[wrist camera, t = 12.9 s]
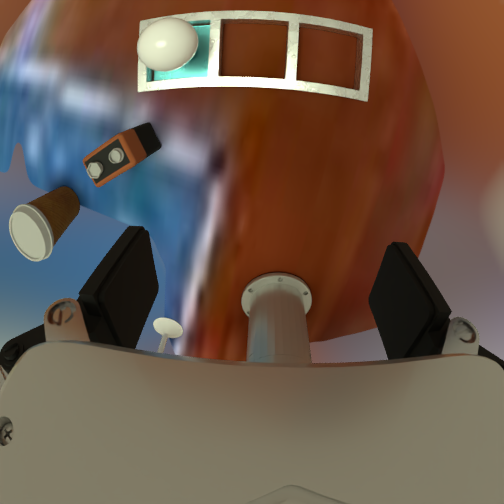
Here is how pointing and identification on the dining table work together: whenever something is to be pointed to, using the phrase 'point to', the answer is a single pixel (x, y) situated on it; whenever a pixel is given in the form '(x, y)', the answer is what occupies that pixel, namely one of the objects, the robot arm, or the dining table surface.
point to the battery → (121, 153)
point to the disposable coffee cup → (43, 222)
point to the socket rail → (209, 72)
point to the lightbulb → (167, 44)
